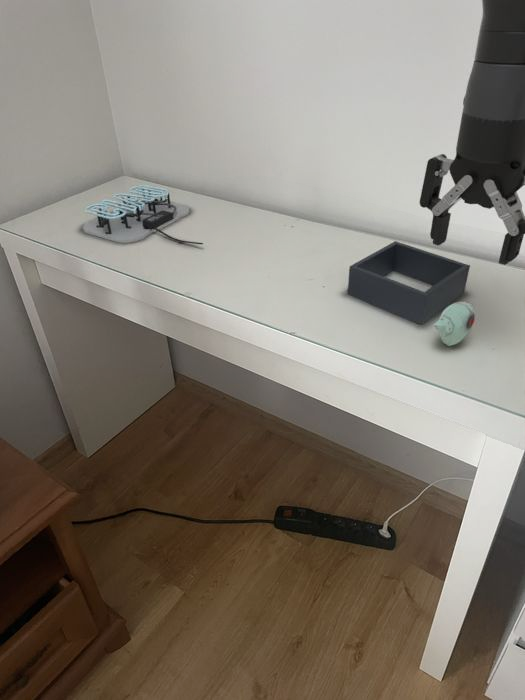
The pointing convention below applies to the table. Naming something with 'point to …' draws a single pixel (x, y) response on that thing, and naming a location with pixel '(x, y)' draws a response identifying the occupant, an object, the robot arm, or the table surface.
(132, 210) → the neon sign
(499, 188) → the robot arm
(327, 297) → the table surface
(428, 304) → the bin
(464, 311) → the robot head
